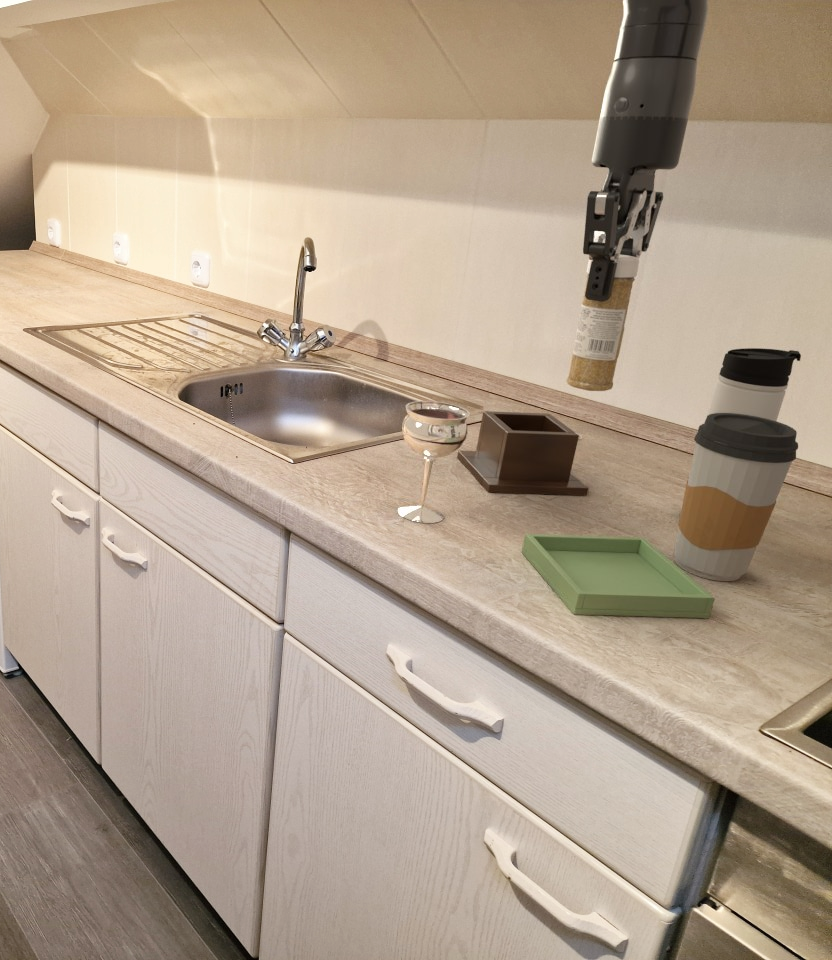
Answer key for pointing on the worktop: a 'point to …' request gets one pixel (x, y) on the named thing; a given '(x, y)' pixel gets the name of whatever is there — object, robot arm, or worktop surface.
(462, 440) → the wineglass
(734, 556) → the coffee cup
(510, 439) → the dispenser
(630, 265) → the sprinkles bottle
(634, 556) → the tray
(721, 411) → the travel mug
